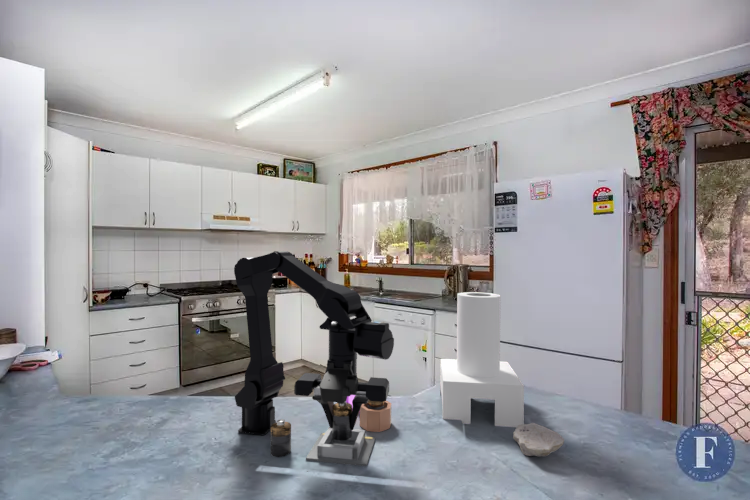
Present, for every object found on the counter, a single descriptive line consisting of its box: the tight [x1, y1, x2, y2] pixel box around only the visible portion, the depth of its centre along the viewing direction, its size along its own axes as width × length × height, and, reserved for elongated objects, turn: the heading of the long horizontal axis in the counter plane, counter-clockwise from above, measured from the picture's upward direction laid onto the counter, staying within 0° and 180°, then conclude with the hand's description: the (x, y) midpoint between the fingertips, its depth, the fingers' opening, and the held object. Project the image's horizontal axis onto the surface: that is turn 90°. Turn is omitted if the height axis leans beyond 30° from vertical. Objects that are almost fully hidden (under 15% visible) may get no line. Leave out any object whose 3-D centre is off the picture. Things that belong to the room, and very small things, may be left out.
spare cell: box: [270, 418, 292, 458], centre depth 77 cm, size 4×4×7 cm
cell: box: [332, 401, 352, 441], centre depth 78 cm, size 4×4×7 cm
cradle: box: [305, 426, 376, 467], centre depth 78 cm, size 12×10×3 cm
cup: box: [359, 400, 392, 433], centre depth 89 cm, size 7×7×5 cm
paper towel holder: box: [439, 291, 525, 428], centre depth 100 cm, size 19×19×30 cm
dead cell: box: [367, 401, 384, 410], centre depth 89 cm, size 4×4×7 cm
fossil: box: [512, 422, 565, 458], centre depth 79 cm, size 9×6×10 cm
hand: (342, 428), depth 78 cm, fingers closed on cell, 4 cm apart
